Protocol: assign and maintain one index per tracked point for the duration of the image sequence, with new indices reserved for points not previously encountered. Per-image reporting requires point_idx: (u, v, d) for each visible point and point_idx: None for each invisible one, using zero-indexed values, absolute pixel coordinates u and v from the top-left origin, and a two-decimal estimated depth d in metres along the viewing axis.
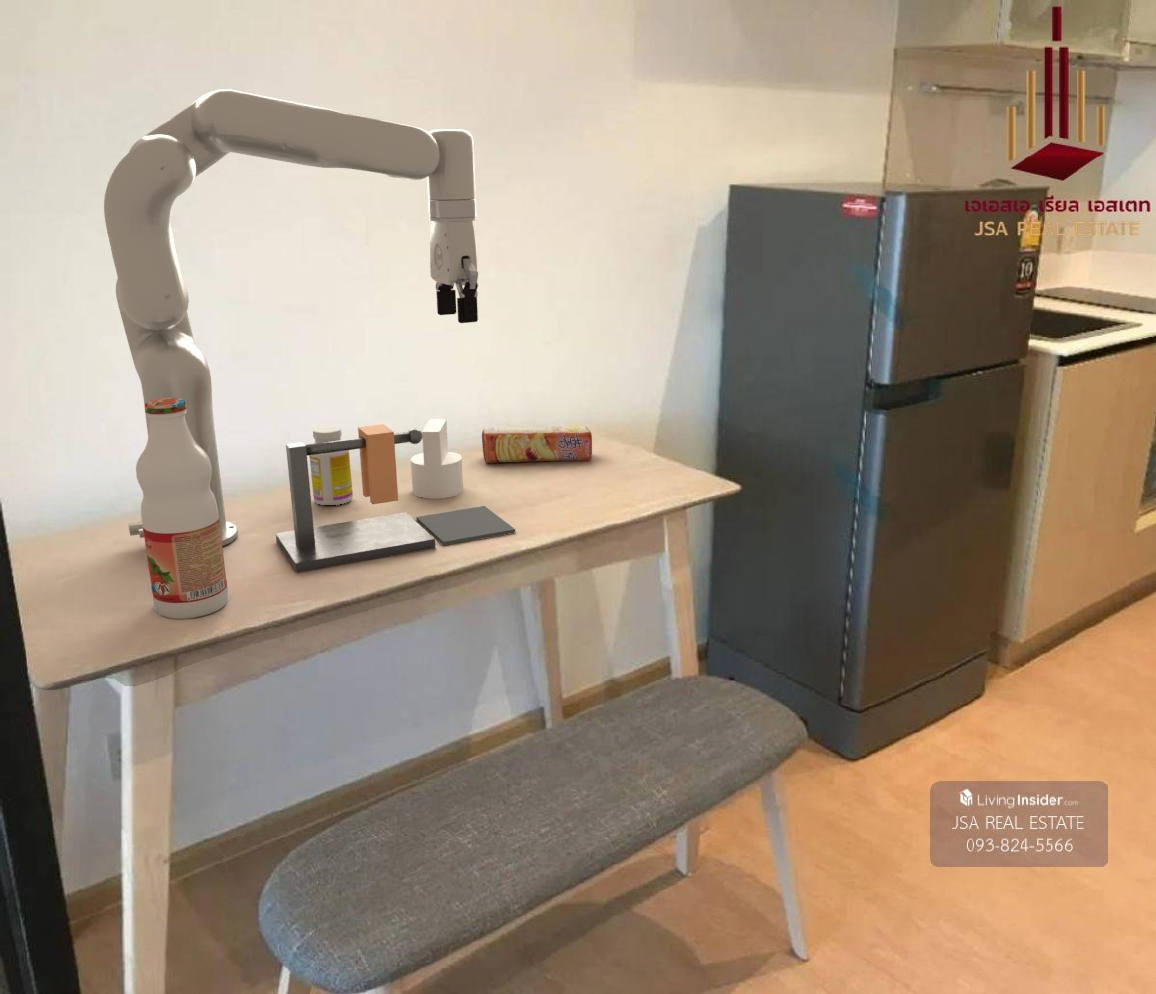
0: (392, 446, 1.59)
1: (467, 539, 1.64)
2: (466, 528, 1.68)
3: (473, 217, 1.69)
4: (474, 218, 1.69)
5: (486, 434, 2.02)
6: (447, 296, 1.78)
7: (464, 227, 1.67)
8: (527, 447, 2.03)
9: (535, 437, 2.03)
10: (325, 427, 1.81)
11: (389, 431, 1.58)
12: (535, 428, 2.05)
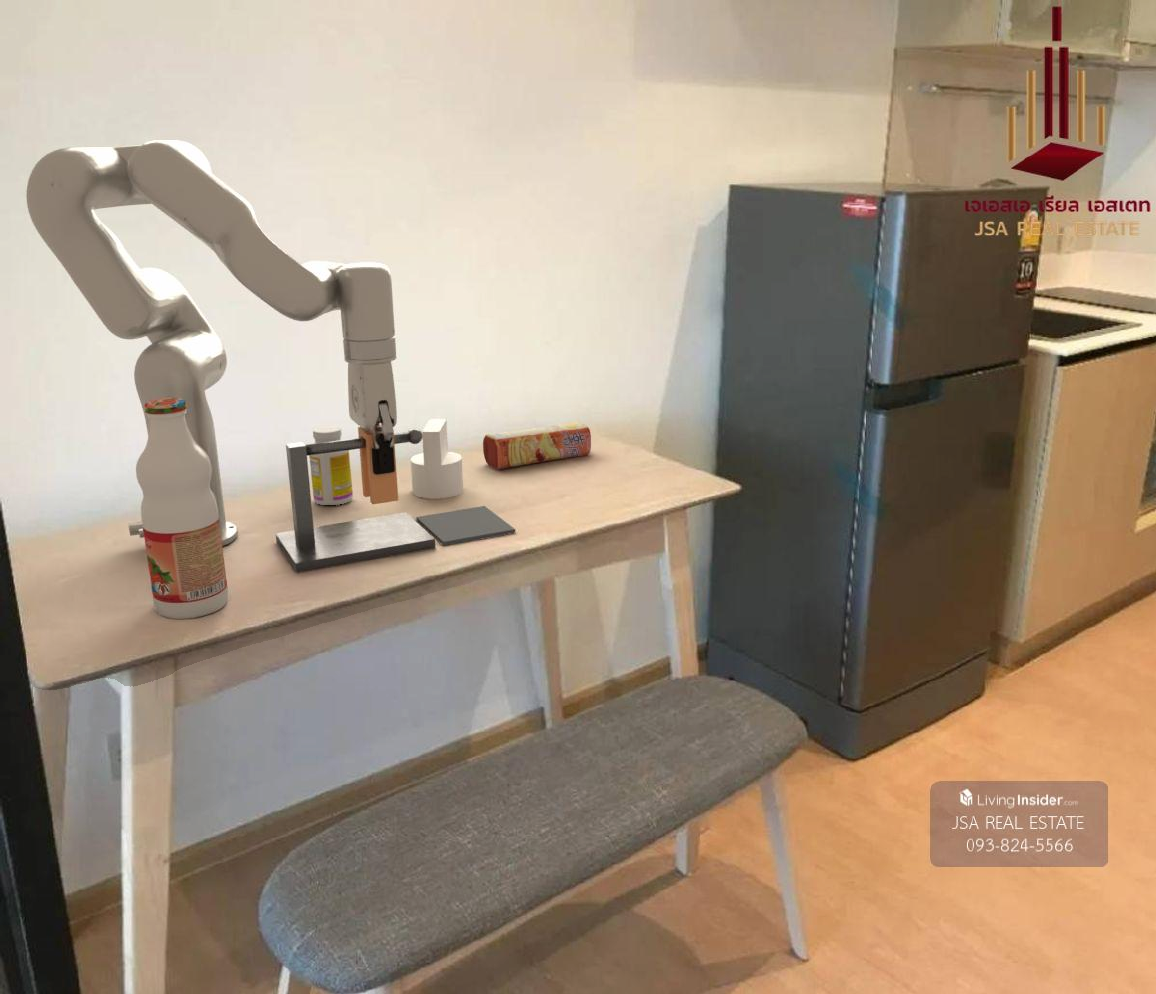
0: None
1: (467, 539, 1.64)
2: (466, 528, 1.68)
3: (392, 357, 1.55)
4: (393, 358, 1.55)
5: (498, 440, 1.98)
6: None
7: (381, 370, 1.53)
8: (537, 448, 2.02)
9: (542, 438, 2.03)
10: (325, 427, 1.81)
11: None
12: (537, 429, 2.05)
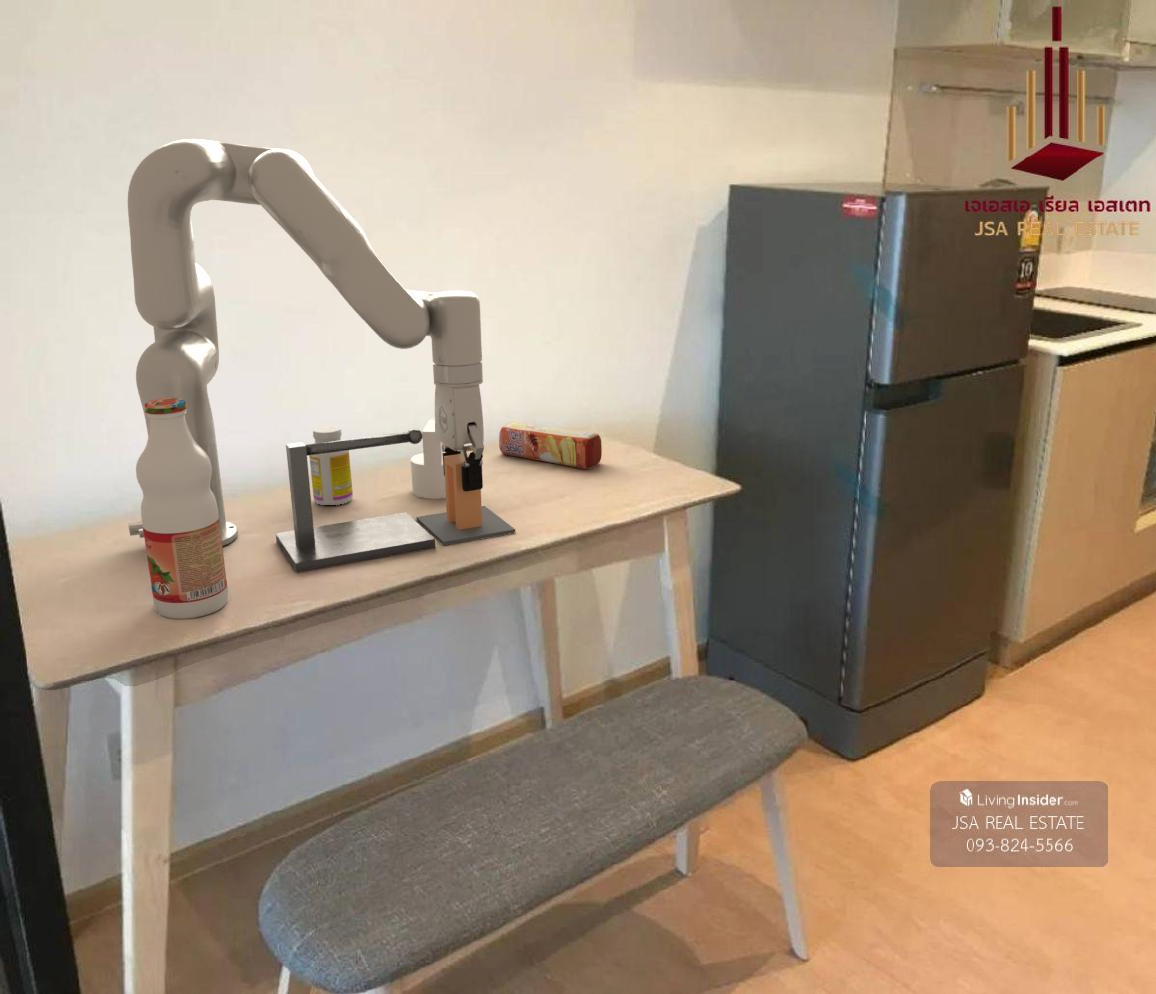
0: None
1: (467, 539, 1.64)
2: None
3: (479, 381, 1.62)
4: (480, 381, 1.62)
5: None
6: None
7: (470, 393, 1.60)
8: None
9: None
10: (325, 427, 1.81)
11: None
12: (550, 428, 2.05)
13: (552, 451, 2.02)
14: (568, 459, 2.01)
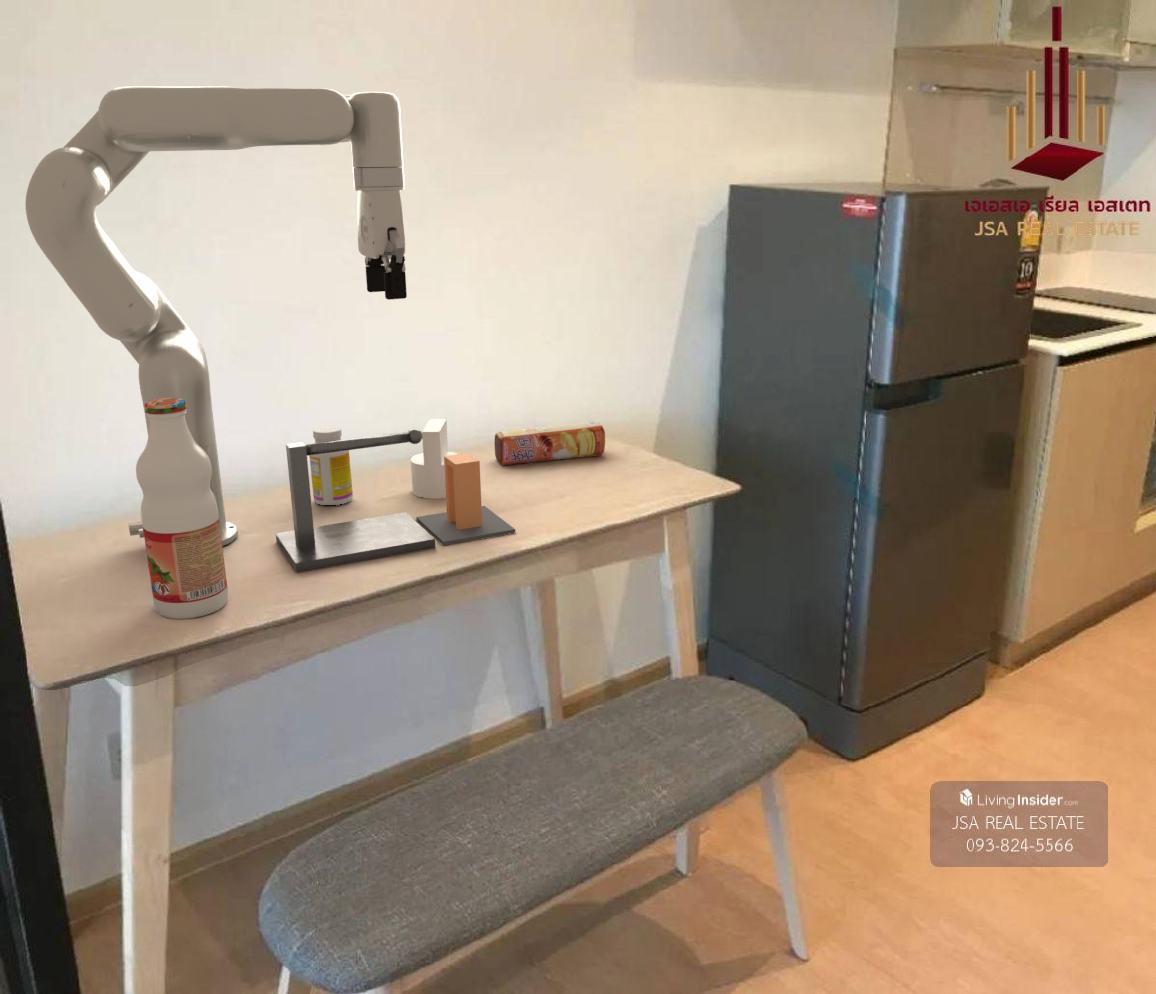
0: (478, 474, 1.66)
1: (467, 539, 1.64)
2: None
3: (400, 186, 1.58)
4: (402, 187, 1.59)
5: None
6: (377, 272, 1.68)
7: (390, 197, 1.56)
8: None
9: None
10: (325, 427, 1.81)
11: (475, 460, 1.66)
12: (550, 427, 2.06)
13: (569, 447, 2.05)
14: (586, 449, 2.07)
